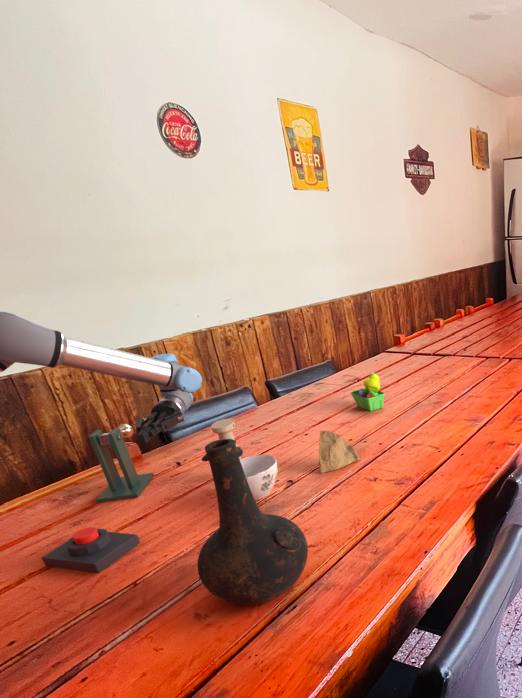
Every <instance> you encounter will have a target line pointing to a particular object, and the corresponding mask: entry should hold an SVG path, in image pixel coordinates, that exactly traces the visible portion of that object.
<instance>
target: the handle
mask: <svg viewBox="0 0 522 698" xmlns="http://www.w3.org/2000/svg"><path fill="white" fill-rule="evenodd" d="M210 428H211V431H212V433H214V434H217V435H218V438H219V439H218V440H222V439H233V440H235V441H236V439H235V438H236V437H235V436H234V432H233V430H234V429H235V428H236V424H235V420H234V418H223V419H219V420H216V421H214V422H213V423H212V424H211V425H210ZM236 447H238V444H237V443H236ZM239 459H242V455H241V456H240V457H239Z"/></svg>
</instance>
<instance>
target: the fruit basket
mask: <svg viewBox="0 0 522 698" xmlns="http://www.w3.org/2000/svg"><path fill="white" fill-rule="evenodd" d="M380 381H381V380H380V377H379V375H378V373H376V372H371V373H370V374H369V376H368V377H367V378H366V379H365V380H364V381H363V386H364V387H362V388H360V389H357V390H353V391H350V395H351V397H352V398H353V400H354V402H355V404H356V407H359V408H361V409H364V410H366V411H368V412H373V411H376V410H379V409H383V408H384V401H385V396H386V392H383V391H382V390H380V387H381V384H380Z"/></svg>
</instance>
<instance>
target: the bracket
mask: <svg viewBox="0 0 522 698" xmlns="http://www.w3.org/2000/svg"><path fill="white" fill-rule="evenodd" d="M108 433H109V434H107V435H108V437H109V440H110V442H111V444H110V445H111V448H112V450H113V453H114V454H115V457H116V460H117V462H118V465H119V467H120V470H121V472H122V474H123V476H121V475H120V473H119V471H118V468H117V466H116V464H115V460H114V458H113V456H112V453H111V451H110V448H109V446H108V445H100V442H99V439H98V435H101V434H103V431H102V429H95V430H94V431H93V432H92V433H91V434H90V435H89V436H88V439H89V442H90V444H91V446H92V448H93V452H94V453H95V456H96V458H97V460H98V463H99V466H100V468H101V471H102V473H103V475H104V477H105V480H106V482H107V484H108V485H107V487H105V489H104V490H103V491H102V492H101V493H100V495H98V496H97V498H96V499H95V502H96V503H97V504H104V503H110V502H111V503H112V502H116V501H124V500H131V499H138V498H139V497H140V496H141V495H142V493H143V492H144V491H145V489H146V488H147V487H148V486H149V484H150V482H151V481H152V480H153V479H154V478H155V474H154V472H149V473H140V474H138V472H137V470H136V468H135V465H134V462H133V460H132V457H131V454H130V452H129V449H128V447H127V444H126V441H125V438H123V436H122V434H121V431H120V429H119V428H117V427H114V428H113V429H112V430H110V431H109V432H108Z"/></svg>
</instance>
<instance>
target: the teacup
mask: <svg viewBox="0 0 522 698" xmlns="http://www.w3.org/2000/svg"><path fill="white" fill-rule="evenodd" d="M240 462H241V465H242V468H243V471H244V474H245V476H246V479H247V482H248V484H249V487H250V490H251V492H252V494H253V497H254V499H255V501H257V500H261V499H263V498H265V497H267V496H268V495H269V494H270V492H271V491H272V489H273V488H274V486H275V485H276V482H277V480H278V479H277V477H278V461H277V458H275V456H274V455H269V454H257V455H250V456H246V457H243V458H241V459H240Z"/></svg>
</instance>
